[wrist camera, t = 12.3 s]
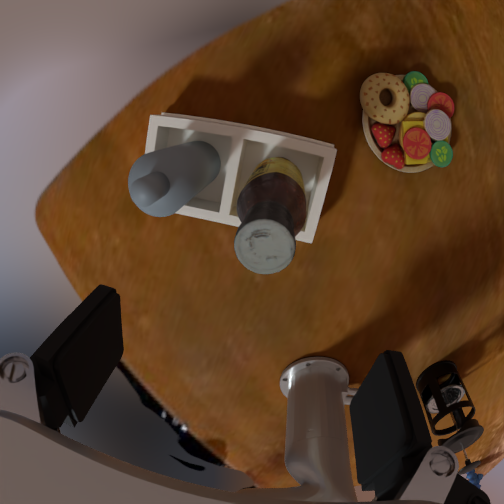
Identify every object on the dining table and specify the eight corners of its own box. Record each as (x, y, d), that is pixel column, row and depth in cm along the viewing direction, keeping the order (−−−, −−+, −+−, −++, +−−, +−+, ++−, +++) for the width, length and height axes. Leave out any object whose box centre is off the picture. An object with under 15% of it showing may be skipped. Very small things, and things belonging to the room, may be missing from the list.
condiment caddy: (333, 144, 36) (366, 161, 20) (310, 231, 41) (321, 301, 25) (164, 112, 36) (90, 113, 21) (154, 197, 41) (85, 244, 26)
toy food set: (351, 74, 32) (357, 70, 29) (441, 74, 30) (452, 71, 27) (366, 174, 37) (373, 179, 34) (452, 168, 35) (463, 172, 32)
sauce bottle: (261, 148, 36) (233, 176, 18) (309, 165, 36) (331, 210, 18) (245, 197, 39) (206, 268, 21) (292, 213, 39) (293, 297, 21)
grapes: (482, 465, 69) (489, 487, 59) (468, 473, 72) (474, 496, 61) (476, 461, 67) (484, 485, 56) (461, 470, 70) (467, 494, 59)
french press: (406, 381, 51) (433, 480, 30) (443, 351, 47) (486, 449, 26) (431, 399, 53) (458, 485, 32) (465, 374, 49) (502, 458, 28)
